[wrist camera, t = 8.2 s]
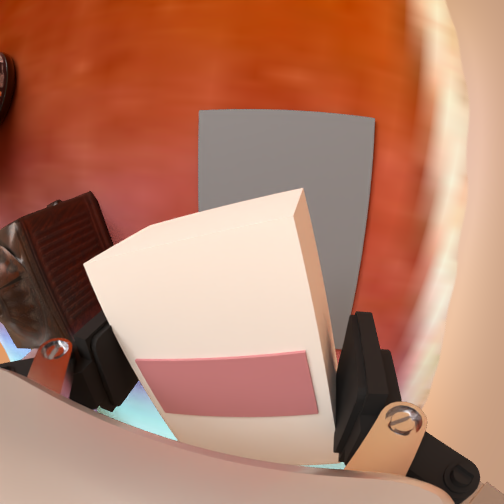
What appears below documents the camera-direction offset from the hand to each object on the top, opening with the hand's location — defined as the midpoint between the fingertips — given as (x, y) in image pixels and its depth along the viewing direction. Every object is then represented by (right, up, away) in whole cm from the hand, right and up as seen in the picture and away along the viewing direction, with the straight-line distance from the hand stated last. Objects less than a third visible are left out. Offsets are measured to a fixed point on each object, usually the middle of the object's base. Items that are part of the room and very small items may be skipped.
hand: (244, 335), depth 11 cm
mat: (+2, +4, +11) cm, 12 cm away
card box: (0, 0, +1) cm, 1 cm away
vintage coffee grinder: (-19, +2, +17) cm, 26 cm away
